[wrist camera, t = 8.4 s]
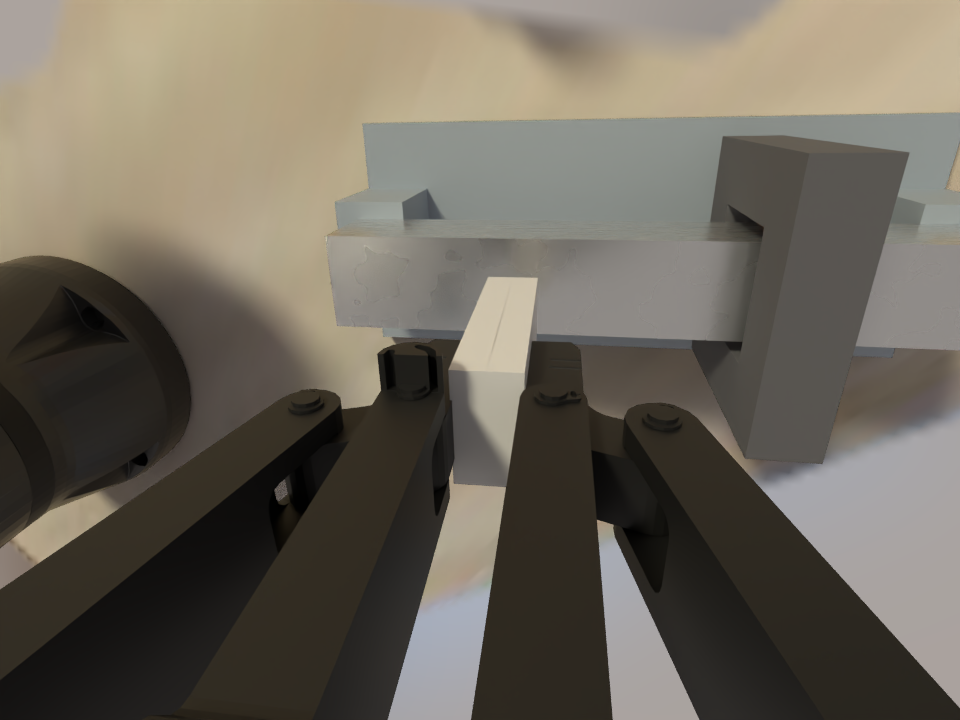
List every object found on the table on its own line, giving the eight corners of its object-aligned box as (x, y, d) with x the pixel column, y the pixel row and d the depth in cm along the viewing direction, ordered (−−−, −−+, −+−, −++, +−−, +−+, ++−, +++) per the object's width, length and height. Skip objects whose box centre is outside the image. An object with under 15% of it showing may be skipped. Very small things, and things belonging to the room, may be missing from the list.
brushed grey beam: (368, 300, 26) (336, 330, 22) (359, 214, 24) (322, 232, 21) (944, 318, 22) (1013, 358, 19) (978, 219, 21) (1061, 242, 17)
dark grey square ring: (691, 347, 27) (744, 458, 19) (722, 136, 23) (809, 153, 15) (743, 349, 27) (822, 463, 18) (784, 135, 23) (910, 152, 14)
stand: (387, 331, 32) (355, 370, 27) (368, 123, 27) (325, 126, 23) (884, 351, 28) (945, 400, 23) (956, 112, 24) (1051, 114, 19)
